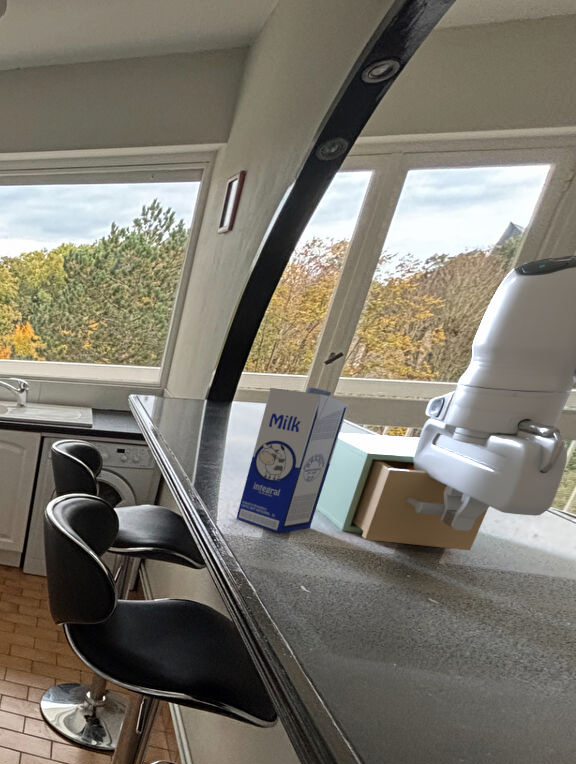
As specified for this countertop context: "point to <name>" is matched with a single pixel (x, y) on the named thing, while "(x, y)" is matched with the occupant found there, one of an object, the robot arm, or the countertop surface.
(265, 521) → the milk carton
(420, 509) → the drawer
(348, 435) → the cabinet
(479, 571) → the countertop surface
